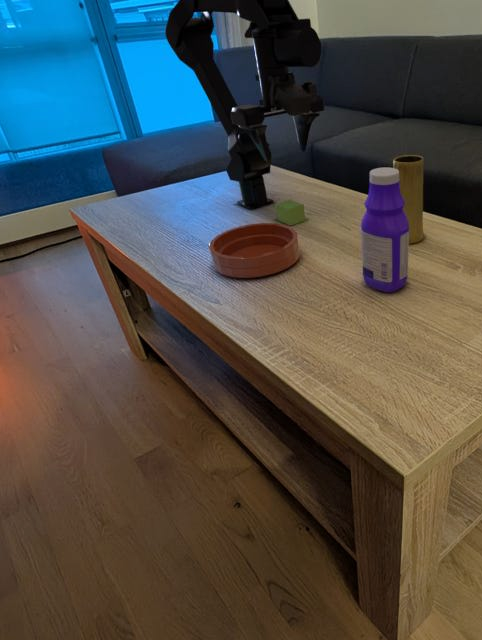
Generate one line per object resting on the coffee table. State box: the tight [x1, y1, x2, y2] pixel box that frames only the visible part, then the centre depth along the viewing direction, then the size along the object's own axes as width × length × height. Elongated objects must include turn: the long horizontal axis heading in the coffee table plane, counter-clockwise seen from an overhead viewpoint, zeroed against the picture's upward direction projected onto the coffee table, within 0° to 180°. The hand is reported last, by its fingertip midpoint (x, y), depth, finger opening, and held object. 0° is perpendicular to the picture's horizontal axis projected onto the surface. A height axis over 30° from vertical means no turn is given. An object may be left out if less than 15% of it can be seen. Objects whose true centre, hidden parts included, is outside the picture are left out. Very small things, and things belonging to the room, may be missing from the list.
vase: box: [392, 154, 425, 245], centre depth 81 cm, size 6×6×14 cm
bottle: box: [360, 166, 410, 293], centre depth 66 cm, size 7×6×17 cm
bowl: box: [208, 222, 301, 279], centre depth 81 cm, size 16×16×4 cm
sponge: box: [274, 199, 306, 227], centre depth 96 cm, size 5×4×4 cm
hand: (285, 156), depth 93 cm, fingers open, 9 cm apart
